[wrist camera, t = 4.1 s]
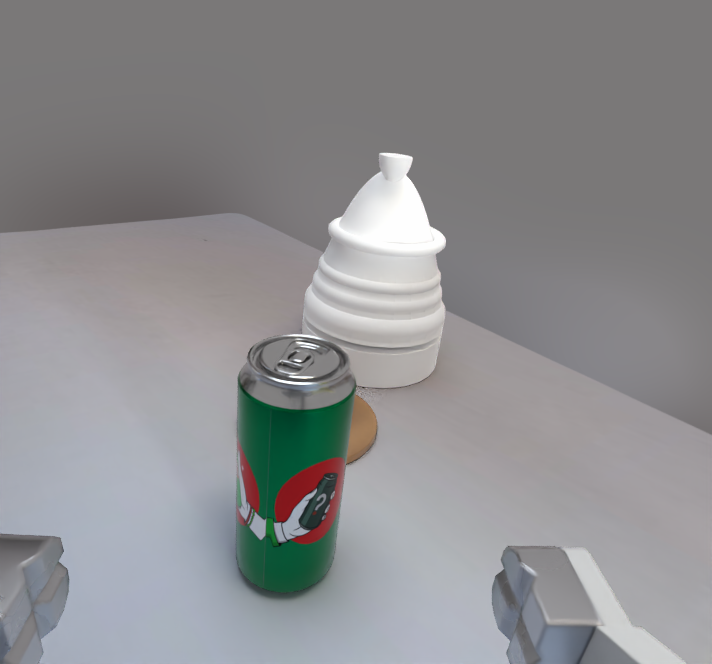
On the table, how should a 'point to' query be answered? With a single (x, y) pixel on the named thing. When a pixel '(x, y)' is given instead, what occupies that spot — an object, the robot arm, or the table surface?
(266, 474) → the soda can
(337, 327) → the honey pot
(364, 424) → the cork coaster
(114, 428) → the table surface
